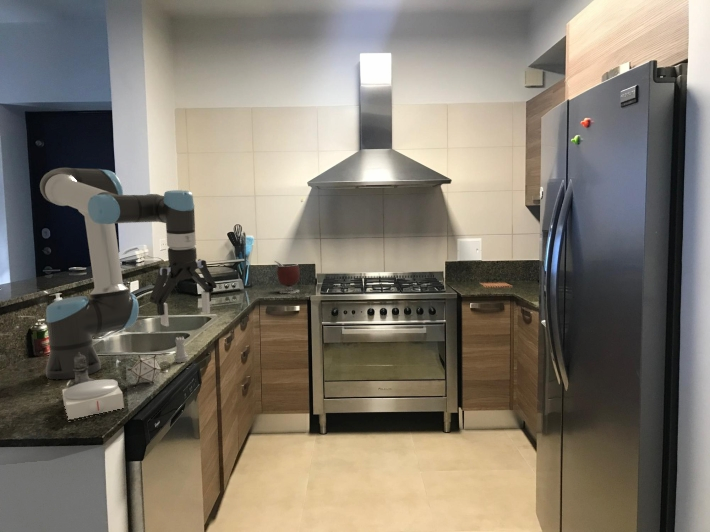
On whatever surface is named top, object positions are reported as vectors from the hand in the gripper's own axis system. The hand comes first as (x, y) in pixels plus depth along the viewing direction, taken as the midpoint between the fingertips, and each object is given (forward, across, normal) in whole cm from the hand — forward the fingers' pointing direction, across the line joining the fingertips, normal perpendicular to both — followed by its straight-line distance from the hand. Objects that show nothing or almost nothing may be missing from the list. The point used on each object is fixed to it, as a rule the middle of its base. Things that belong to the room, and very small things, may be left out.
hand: (186, 318), depth 141 cm
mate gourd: (+42, +132, +91) cm, 166 cm away
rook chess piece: (+21, +8, +16) cm, 28 cm away
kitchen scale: (+16, -28, 0) cm, 32 cm away
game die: (+18, -10, +5) cm, 22 cm away
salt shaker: (+18, -25, +12) cm, 33 cm away
